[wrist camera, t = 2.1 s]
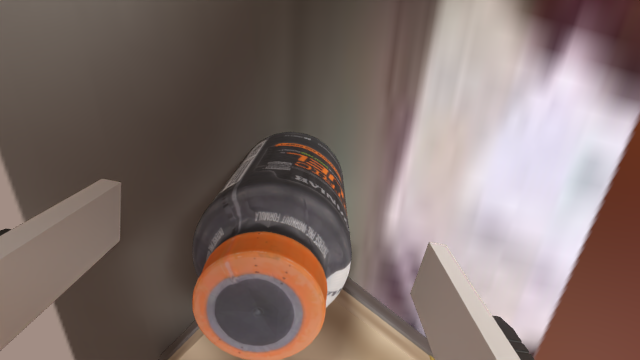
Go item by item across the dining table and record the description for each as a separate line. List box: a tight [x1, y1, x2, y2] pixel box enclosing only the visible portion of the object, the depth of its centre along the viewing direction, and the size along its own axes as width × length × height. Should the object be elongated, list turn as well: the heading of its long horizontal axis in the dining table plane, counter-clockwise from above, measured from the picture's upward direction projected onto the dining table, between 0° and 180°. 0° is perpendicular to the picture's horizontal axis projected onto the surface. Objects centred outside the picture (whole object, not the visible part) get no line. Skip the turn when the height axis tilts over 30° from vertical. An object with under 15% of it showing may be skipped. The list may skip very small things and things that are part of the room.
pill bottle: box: [192, 132, 352, 360], centre depth 15 cm, size 6×6×11 cm
